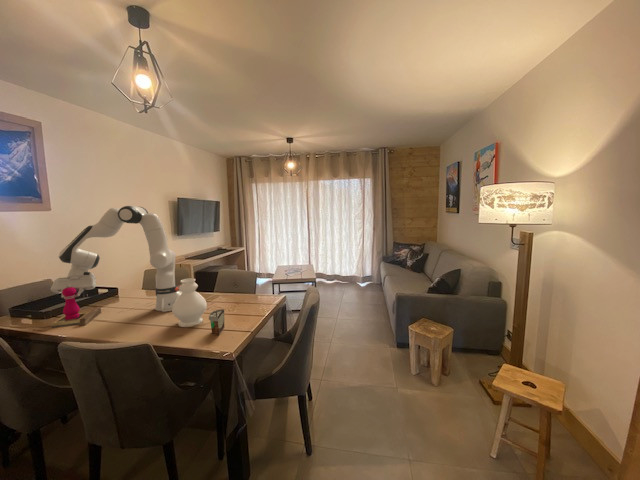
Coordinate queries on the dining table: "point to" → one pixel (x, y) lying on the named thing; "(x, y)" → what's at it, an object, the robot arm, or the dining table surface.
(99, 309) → the walnut sill
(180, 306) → the decorative vase
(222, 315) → the food container
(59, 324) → the index plate
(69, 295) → the pepper mill
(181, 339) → the dining table surface
